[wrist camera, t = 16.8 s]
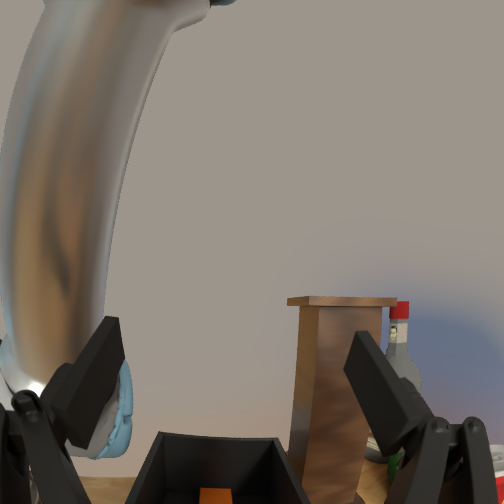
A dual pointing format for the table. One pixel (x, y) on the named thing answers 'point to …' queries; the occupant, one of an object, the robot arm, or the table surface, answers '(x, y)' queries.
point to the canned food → (498, 469)
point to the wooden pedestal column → (330, 396)
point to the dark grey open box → (216, 471)
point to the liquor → (396, 366)
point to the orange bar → (215, 496)
